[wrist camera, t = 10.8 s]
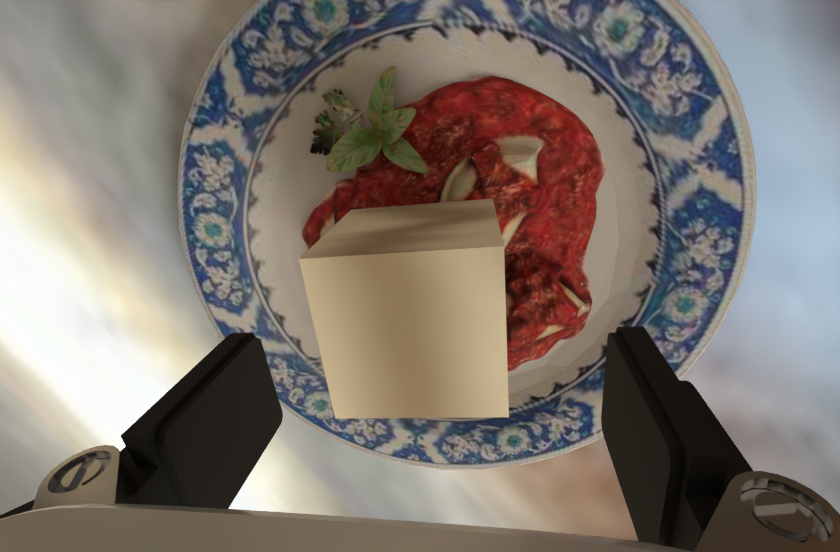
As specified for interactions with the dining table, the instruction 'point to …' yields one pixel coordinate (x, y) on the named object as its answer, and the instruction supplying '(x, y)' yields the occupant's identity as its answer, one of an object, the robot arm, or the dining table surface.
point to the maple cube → (412, 311)
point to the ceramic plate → (475, 189)
